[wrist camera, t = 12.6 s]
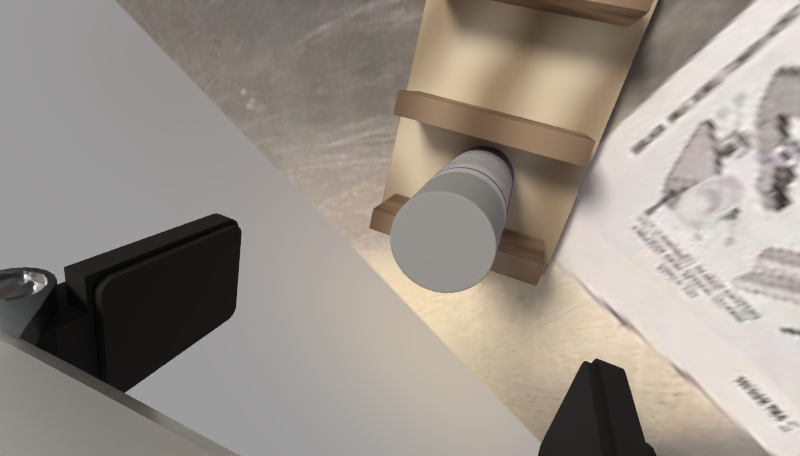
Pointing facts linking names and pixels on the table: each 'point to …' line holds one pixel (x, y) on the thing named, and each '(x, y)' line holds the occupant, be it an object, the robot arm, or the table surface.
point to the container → (455, 222)
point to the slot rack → (514, 106)
